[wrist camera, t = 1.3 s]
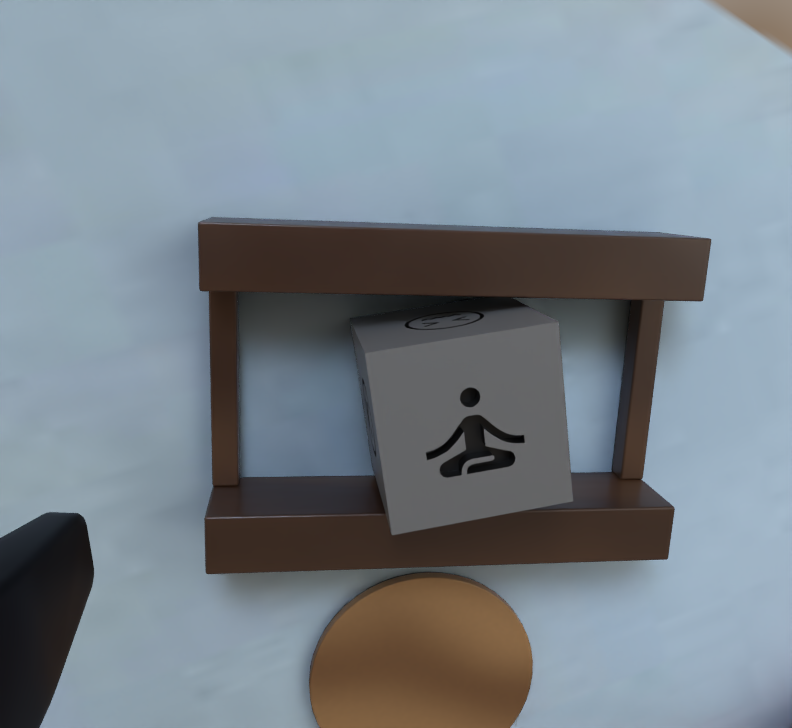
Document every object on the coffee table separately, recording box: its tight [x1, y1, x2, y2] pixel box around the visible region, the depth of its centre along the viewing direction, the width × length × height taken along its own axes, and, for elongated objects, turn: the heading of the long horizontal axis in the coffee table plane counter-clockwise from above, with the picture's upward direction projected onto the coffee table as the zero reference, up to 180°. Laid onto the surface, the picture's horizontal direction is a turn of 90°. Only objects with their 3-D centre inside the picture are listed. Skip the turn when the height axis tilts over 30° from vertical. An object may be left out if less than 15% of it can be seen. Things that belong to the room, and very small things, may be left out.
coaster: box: [309, 572, 533, 728], centre depth 26 cm, size 8×8×1 cm
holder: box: [198, 217, 711, 574], centre depth 22 cm, size 10×14×3 cm
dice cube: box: [350, 297, 573, 535], centre depth 22 cm, size 5×5×5 cm
